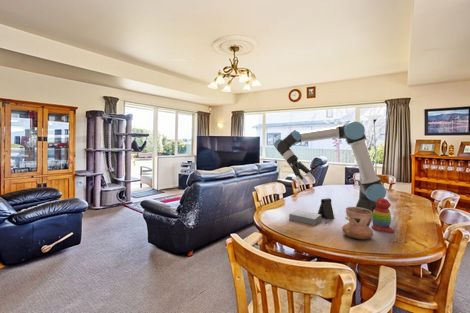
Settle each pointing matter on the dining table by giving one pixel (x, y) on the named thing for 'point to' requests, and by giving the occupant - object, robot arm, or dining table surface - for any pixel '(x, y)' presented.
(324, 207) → the black tapered block
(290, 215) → the plinth
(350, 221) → the ceramic jug
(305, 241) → the dining table surface
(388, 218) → the stacking bear
